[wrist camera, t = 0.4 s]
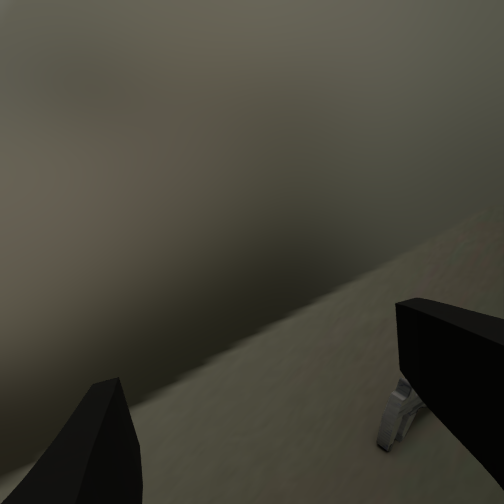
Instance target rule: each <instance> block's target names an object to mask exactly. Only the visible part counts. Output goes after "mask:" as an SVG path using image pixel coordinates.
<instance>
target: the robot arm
mask: <svg viewBox="0 0 504 504" xmlns="http://www.w3.org/2000/svg"><path fill="white" fill-rule="evenodd" d="M395 306H396V321H397V335H398V350H399V365H400V371H401V372H402V374H403V375H404V376H405V378H406V379H407V381H408V382H409V384H410V385H411V387H412V388H413V389H414V391H415V392H416V394H417V395H418V396H419V398H420V399H421V400H422V401H423V402H424V404H425V405H426V406H427V407H428V408H429V409H430V410H431V411H432V412H433V413H434V414H435V416H436V417H437V418H438V419H439V420H440V421H441V422H442V423H443V424H444V425H445V426H446V427H447V428H448V429H449V430H450V431H451V433H452V434H453V435H454V436H455V437H456V438H457V439H458V440H459V441H460V442H461V443H462V444H463V445H464V446H465V447H466V448H467V449H468V450H469V452H470V453H471V454H472V455H473V456H474V457H475V458H476V459H477V460H478V461H479V462H480V463H481V464H482V465H483V466H484V468H485V469H486V470H487V471H488V472H489V473H490V474H491V476H492V477H493V478H494V479H495V480H496V481H497V483H498V484H499V485H500V486H501V488H502V489H503V490H504V319H501V318H497V317H493V316H489V315H485V314H482V313H478V312H474V311H470V310H467V309H463V308H459V307H456V306H452V305H448V304H444V303H440V302H436V301H432V300H428V299H422V298H413V299H409V300H406V301H402V302H398V303H395ZM142 493H143V481H142V466H141V454H140V445H139V442H138V438H137V435H136V432H135V429H134V425H133V422H132V419H131V415H130V412H129V409H128V406H127V402H126V400H125V396H124V393H123V389H122V386H121V383H120V380H119V377H118V378H114V379H110V380H106V381H103V382H99V383H95V384H93V385H92V386H91V387H90V389H89V390H88V392H87V393H86V395H85V396H84V397H83V399H82V401H81V402H80V403H79V405H78V406H77V408H76V410H75V411H74V412H73V414H72V415H71V417H70V418H69V420H68V421H67V423H66V424H65V425H64V427H63V428H62V430H61V431H60V433H59V434H58V435H57V437H56V438H55V439H54V441H53V442H52V443H51V445H50V446H49V447H48V449H47V450H46V451H45V452H44V454H43V455H42V456H41V457H40V459H39V460H38V461H37V462H36V464H35V465H34V466H33V468H32V469H31V470H30V471H29V473H28V474H27V475H26V476H25V477H24V479H23V480H22V481H21V482H20V483H19V484H18V486H17V487H16V488H15V489H14V490H13V491H12V492H11V493H10V495H9V496H8V497H7V498H6V499H5V500H4V501H3V502H2V503H1V504H142Z"/></svg>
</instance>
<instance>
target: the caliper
mask: <svg viewBox="0 0 504 504" xmlns="http://www.w3.org/2000/svg"><path fill="white" fill-rule="evenodd" d="M421 407H422V408H425V407H427V406H426V405H425V404H424V402H423V401H422V400H421V399H420V398H419V396H418V395H417V394H416V392H415V391H414V389H413V388H412V387H411V385H410V384H409V382H408V381H407V379H406V378H405V380H404V379H403V378H401V377H400V379H399V382H398V385H397V388H396V390H395V391H394V392H392V393H391V395H390V398H389V400H388V403H387V405H386V408H385V411H384V413H383V416H382V420H381V425H380V429H379V433H378V438H377V443H378V444H379V445H380V446H382V447H383V448H384V449H386V450H387V451H388V452H389V451H390V450H391V447H392V445H393V442H394V439H396V440H397V441H399V442H401V441H402V440H403V439H404V437H405V435H406V433H407V431H408V429H409V427H410V425H411V423H412V421H413V419H414V417H415V415H416V413H417V411H418V409H420V408H421Z"/></svg>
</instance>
